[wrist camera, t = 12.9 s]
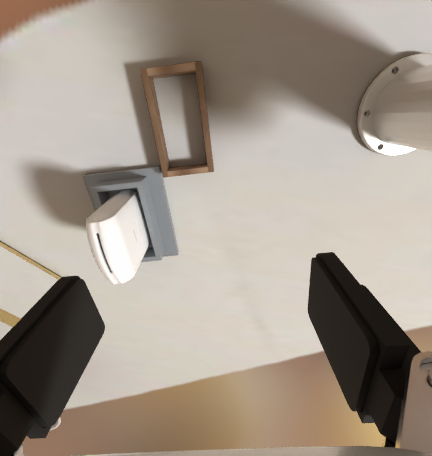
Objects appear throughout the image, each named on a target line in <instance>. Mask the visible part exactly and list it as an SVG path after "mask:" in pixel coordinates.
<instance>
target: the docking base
mask: <svg viewBox="0 0 432 456" xmlns="http://www.w3.org/2000/svg"><path fill="white" fill-rule="evenodd" d="M83 178H84V181H85V184H86V186H87V189H88V192H89V195H90V197H91V200H92V203H93V206H94V208H95V211H96V210H97V209H99V208H100V207H101V206H102V205H103V204H104V203H106V202H107V201H108V200H109V199H110V198H111V197H112V196H114V195H115V194H118V193H119V192H120V191H122V190H125V189H129V190H133V191H135V192H137V193H138V195H139V197H140V200H141V204H142V207H143V211H144V215H145V218H146V222H147V226H148V230H149V234H150V244H149V246H148V248H147V250H146V252H145V254H144V257H143V259H142V261H141V262H147V261H157V260H162V257H164V256H174V255H178V253H179V252H178V247H177V242H176V238H175V233H174V228H173V224H172V219H171V214H170V210H169V205H168V200H167V195H166V191H165V186H164V181H163V177H162V172H161V167H160V166H155V167H147V168H138V169H129V170H121V171H112V172H104V173H95V174H86V175H84V176H83Z"/></svg>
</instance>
